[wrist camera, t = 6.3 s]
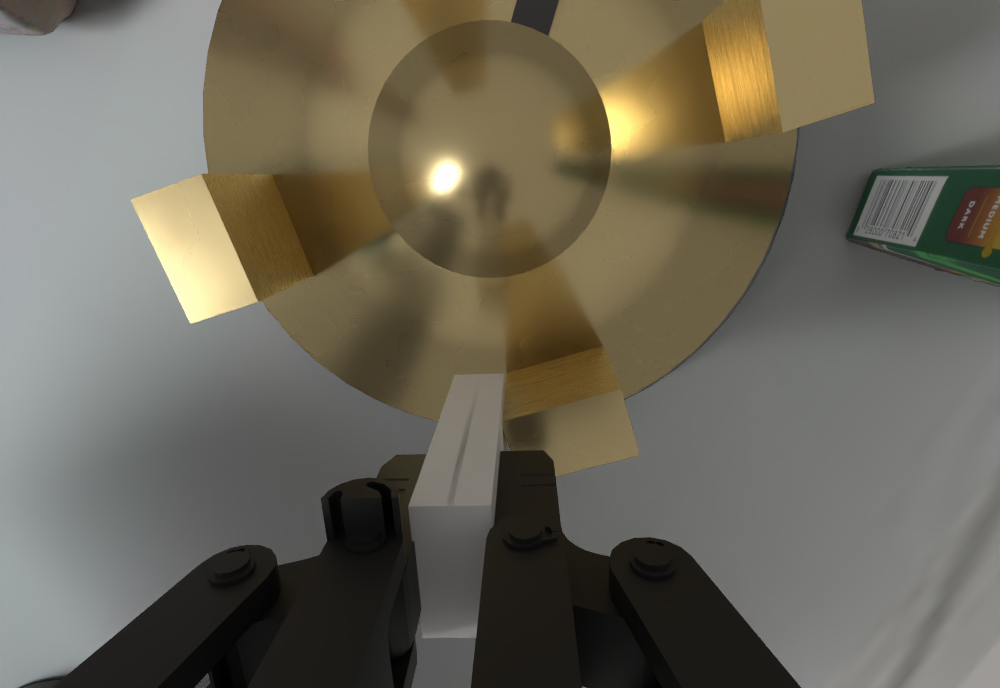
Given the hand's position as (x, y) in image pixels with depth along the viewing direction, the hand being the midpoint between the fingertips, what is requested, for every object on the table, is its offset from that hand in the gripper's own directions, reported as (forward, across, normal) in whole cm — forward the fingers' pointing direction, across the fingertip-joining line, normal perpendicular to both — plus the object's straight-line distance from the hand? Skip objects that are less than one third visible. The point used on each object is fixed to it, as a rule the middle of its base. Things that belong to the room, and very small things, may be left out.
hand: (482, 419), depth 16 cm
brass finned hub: (+4, -1, -7) cm, 8 cm away
